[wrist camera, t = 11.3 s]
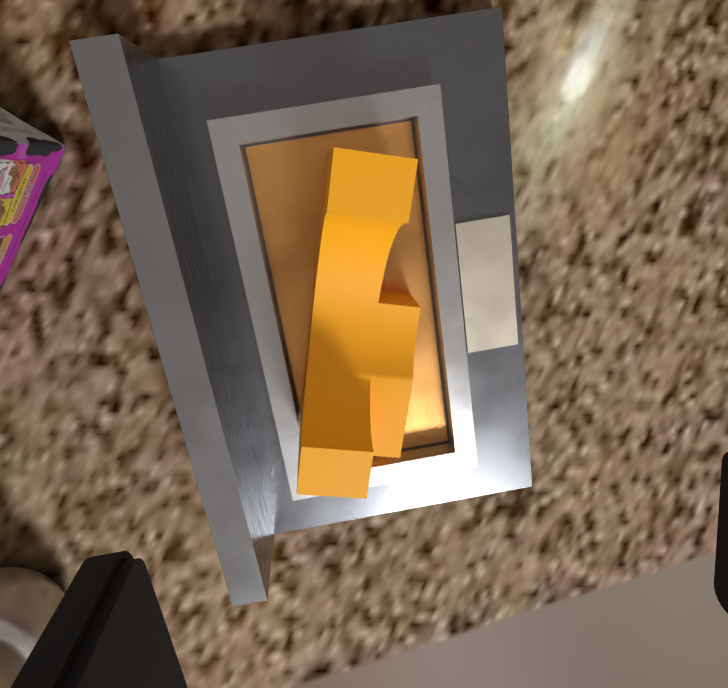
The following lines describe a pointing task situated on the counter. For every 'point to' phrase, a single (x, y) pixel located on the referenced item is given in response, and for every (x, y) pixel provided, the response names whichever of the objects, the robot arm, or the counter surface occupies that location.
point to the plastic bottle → (23, 616)
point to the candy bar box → (22, 181)
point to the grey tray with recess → (299, 255)
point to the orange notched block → (357, 328)
